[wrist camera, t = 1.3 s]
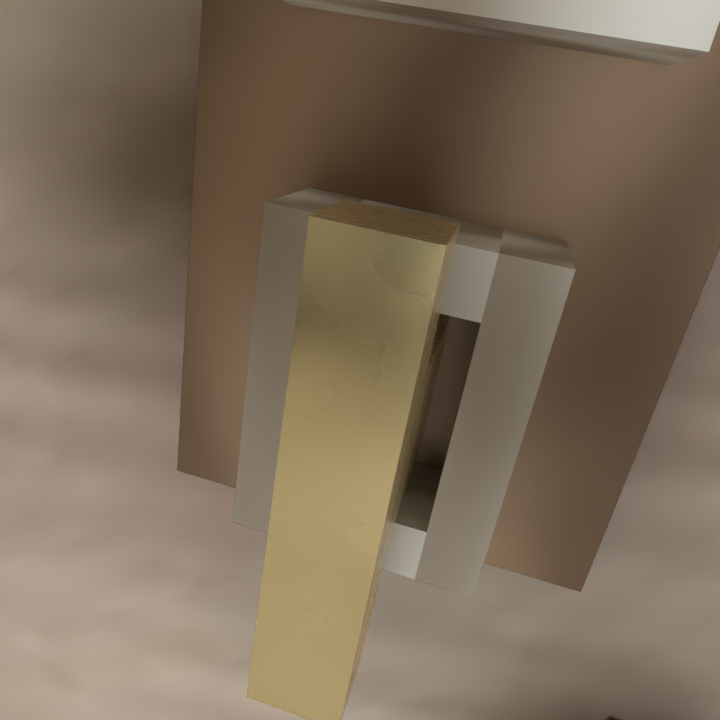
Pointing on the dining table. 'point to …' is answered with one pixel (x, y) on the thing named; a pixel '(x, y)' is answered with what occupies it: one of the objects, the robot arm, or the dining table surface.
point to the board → (461, 245)
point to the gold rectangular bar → (346, 443)
